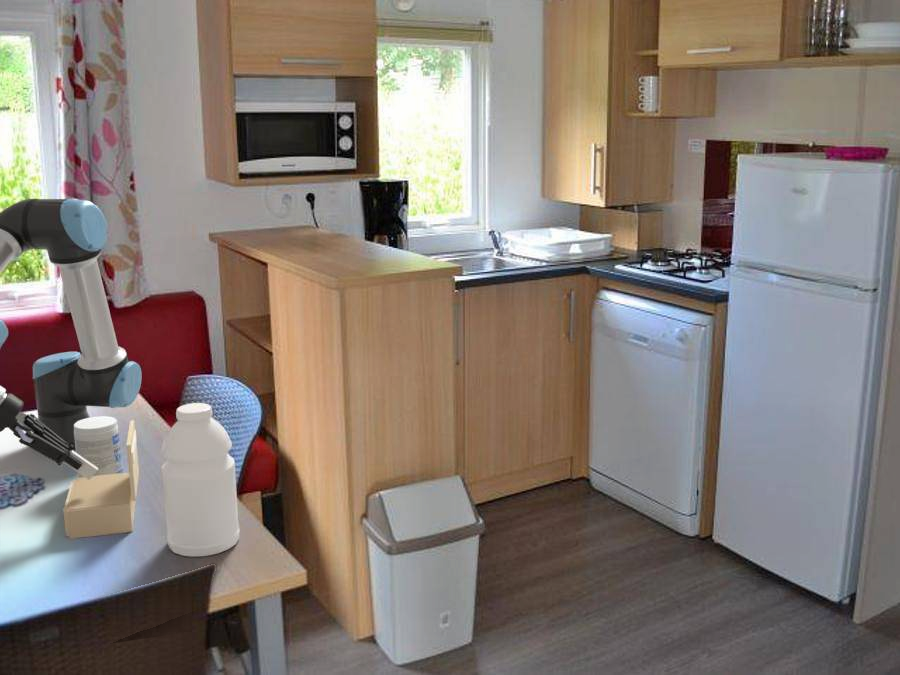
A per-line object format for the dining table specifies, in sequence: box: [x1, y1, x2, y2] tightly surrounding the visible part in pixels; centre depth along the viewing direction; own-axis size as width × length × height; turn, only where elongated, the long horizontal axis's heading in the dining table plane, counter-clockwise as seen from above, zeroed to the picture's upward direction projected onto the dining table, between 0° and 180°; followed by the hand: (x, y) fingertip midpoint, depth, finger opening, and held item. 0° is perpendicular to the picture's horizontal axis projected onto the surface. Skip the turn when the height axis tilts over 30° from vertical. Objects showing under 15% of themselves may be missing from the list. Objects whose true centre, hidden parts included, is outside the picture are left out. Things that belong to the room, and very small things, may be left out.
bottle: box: [161, 402, 241, 558], centre depth 184 cm, size 14×14×28 cm
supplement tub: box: [74, 415, 124, 478], centre depth 216 cm, size 10×10×15 cm
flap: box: [125, 419, 140, 502], centre depth 198 cm, size 16×1×12 cm, turn 16°
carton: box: [62, 471, 137, 540], centre depth 198 cm, size 18×13×6 cm
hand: (93, 473), depth 196 cm, fingers closed
